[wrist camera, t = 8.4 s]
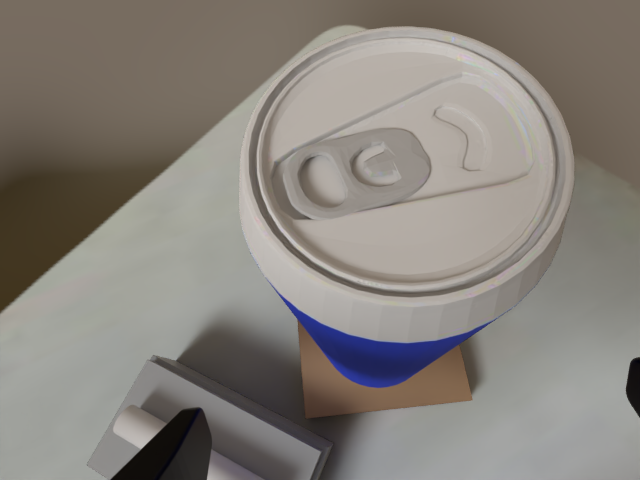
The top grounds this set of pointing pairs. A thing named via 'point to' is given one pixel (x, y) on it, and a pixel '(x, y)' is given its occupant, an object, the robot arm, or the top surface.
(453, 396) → the brown square slab
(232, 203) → the top surface
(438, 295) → the beverage can
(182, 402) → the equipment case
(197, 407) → the robot arm
